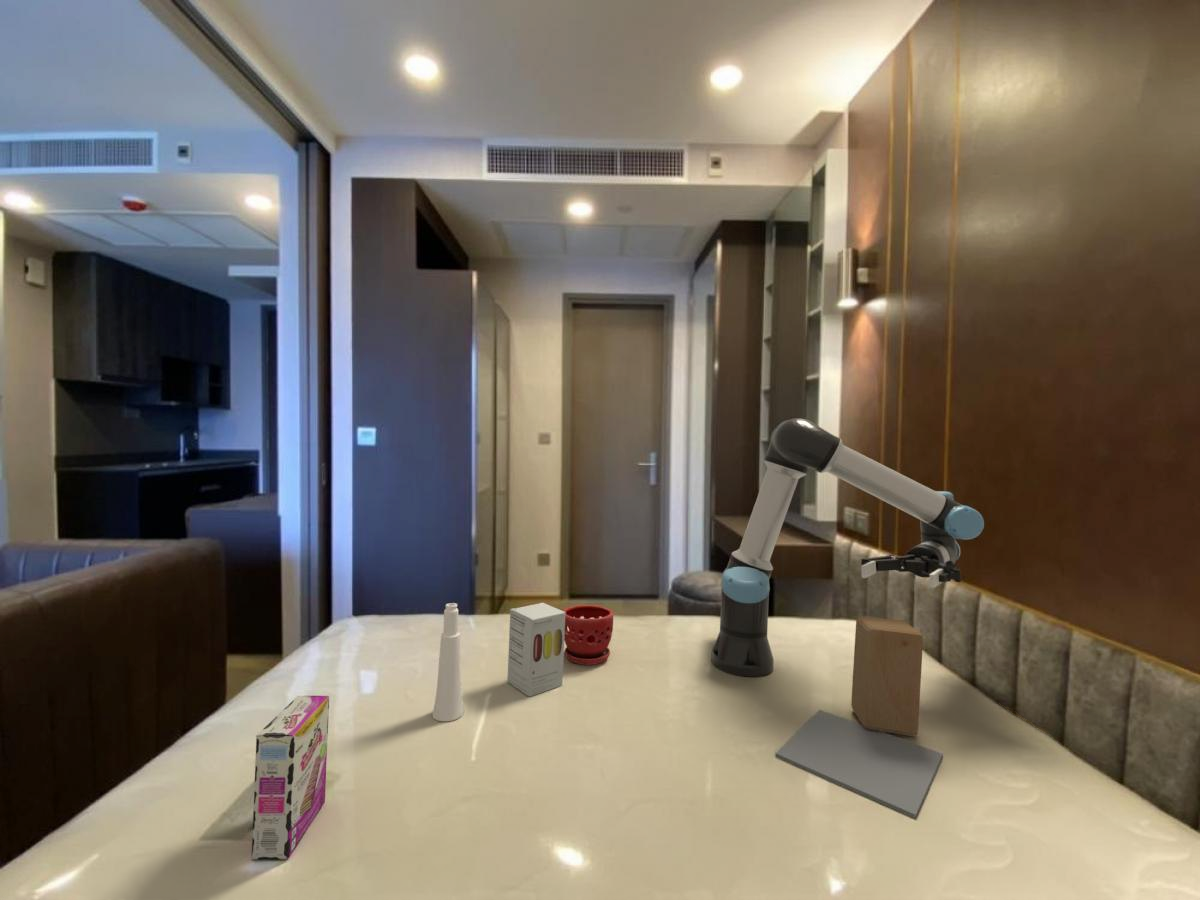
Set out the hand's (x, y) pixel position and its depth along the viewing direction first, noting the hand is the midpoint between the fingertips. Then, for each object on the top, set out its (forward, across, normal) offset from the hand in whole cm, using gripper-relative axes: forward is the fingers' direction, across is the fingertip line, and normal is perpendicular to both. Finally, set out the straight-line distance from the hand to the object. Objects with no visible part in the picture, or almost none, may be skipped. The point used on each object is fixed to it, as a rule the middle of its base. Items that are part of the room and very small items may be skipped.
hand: (895, 576), depth 114 cm
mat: (+26, -1, -27) cm, 38 cm away
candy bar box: (+107, +43, -21) cm, 117 cm away
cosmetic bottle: (+76, +58, -21) cm, 98 cm away
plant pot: (+36, +62, -23) cm, 75 cm away
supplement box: (+55, +58, -22) cm, 83 cm away
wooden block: (+11, 0, -28) cm, 30 cm away
